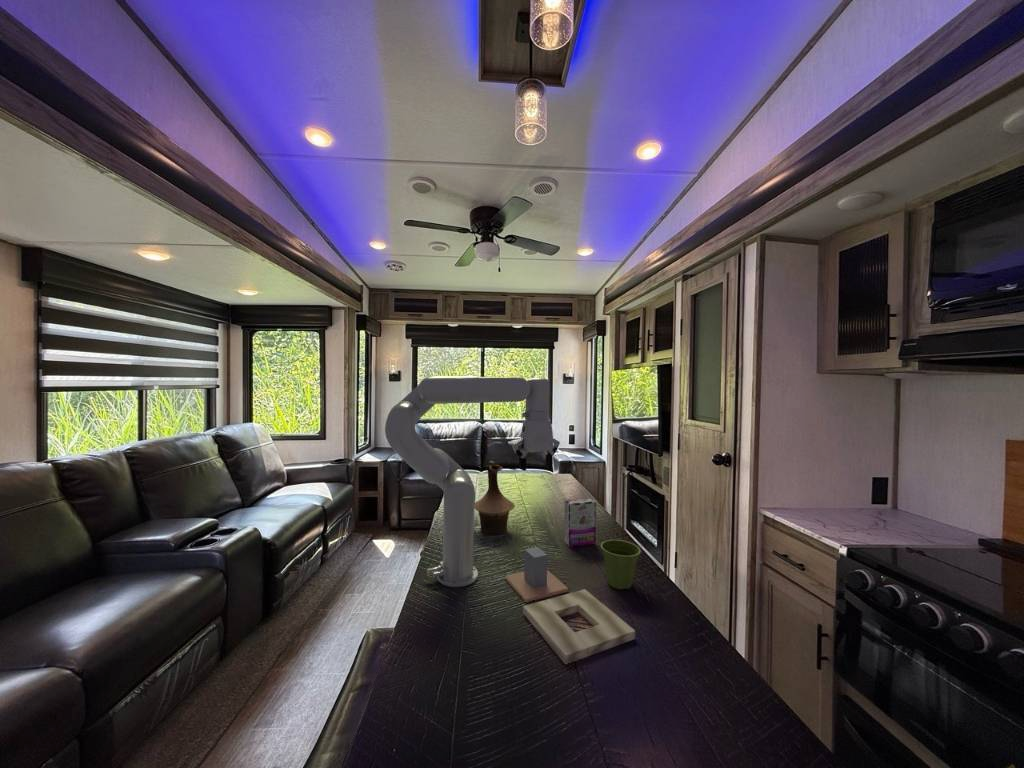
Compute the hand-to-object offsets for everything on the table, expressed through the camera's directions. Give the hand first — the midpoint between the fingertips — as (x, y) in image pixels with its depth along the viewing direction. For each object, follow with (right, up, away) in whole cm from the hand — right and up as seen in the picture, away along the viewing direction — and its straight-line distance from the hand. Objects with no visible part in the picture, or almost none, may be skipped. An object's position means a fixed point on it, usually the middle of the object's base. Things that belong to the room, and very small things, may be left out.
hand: (536, 468), depth 124 cm
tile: (-1, -33, -9) cm, 34 cm away
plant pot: (+25, -34, -7) cm, 43 cm away
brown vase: (-15, -33, +33) cm, 49 cm away
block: (-1, -32, -9) cm, 34 cm away
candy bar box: (+18, -34, +22) cm, 44 cm away
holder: (+9, -34, -28) cm, 44 cm away
